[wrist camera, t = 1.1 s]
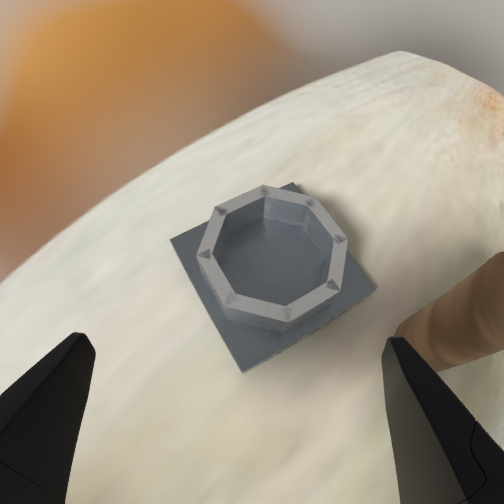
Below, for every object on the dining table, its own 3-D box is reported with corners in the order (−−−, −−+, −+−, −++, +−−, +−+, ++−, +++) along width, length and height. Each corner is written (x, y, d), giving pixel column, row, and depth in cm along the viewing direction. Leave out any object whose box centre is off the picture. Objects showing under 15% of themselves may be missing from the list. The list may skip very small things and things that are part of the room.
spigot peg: (452, 351, 23) (552, 305, 12) (413, 388, 22) (518, 360, 11) (422, 306, 25) (510, 237, 14) (381, 338, 23) (470, 281, 13)
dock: (371, 294, 25) (389, 274, 22) (242, 373, 22) (241, 367, 19) (291, 188, 30) (297, 159, 26) (172, 245, 27) (161, 219, 23)
